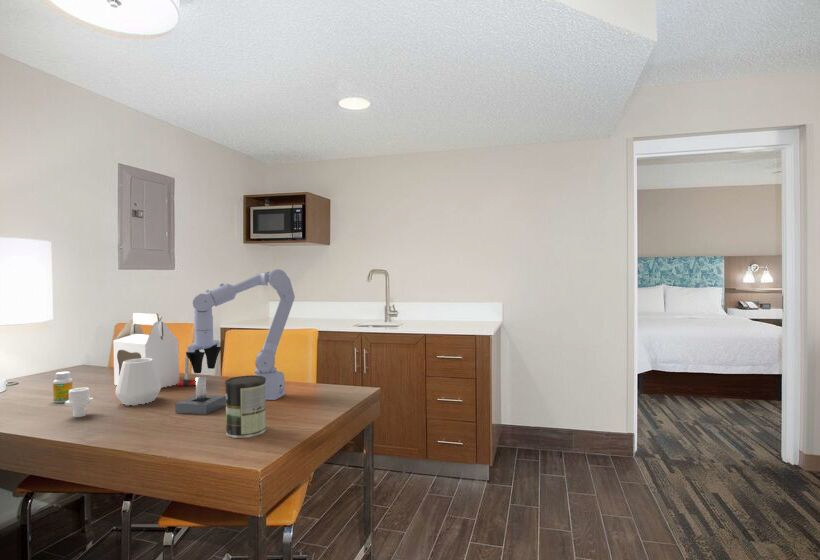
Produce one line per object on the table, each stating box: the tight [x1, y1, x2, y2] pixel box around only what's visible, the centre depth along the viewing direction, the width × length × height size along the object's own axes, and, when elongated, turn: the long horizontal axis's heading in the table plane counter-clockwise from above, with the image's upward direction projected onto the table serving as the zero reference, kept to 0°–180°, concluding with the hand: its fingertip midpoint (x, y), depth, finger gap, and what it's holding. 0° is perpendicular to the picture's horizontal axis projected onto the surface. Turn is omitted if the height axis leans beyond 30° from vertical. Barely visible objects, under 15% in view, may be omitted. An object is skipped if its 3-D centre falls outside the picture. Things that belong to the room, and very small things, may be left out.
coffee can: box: [224, 374, 267, 439], centre depth 128 cm, size 10×10×14 cm
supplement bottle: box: [52, 371, 74, 404], centre depth 163 cm, size 5×5×10 cm
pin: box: [195, 376, 207, 402], centre depth 151 cm, size 3×3×10 cm
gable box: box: [112, 312, 180, 389], centre depth 187 cm, size 22×13×28 cm, turn 59°
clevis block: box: [174, 394, 226, 415], centre depth 151 cm, size 10×10×3 cm
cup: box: [115, 358, 162, 406], centre depth 161 cm, size 13×13×14 cm
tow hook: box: [176, 354, 196, 387], centre depth 188 cm, size 8×13×9 cm
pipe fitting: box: [64, 387, 94, 418], centre depth 145 cm, size 6×7×8 cm
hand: (204, 370), depth 159 cm, fingers open, 7 cm apart
